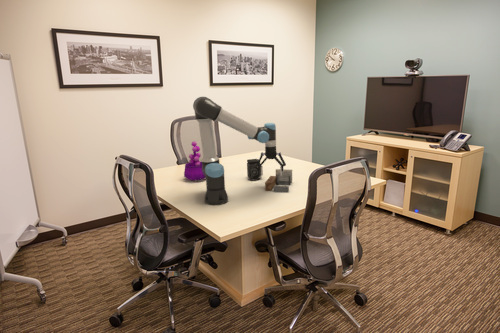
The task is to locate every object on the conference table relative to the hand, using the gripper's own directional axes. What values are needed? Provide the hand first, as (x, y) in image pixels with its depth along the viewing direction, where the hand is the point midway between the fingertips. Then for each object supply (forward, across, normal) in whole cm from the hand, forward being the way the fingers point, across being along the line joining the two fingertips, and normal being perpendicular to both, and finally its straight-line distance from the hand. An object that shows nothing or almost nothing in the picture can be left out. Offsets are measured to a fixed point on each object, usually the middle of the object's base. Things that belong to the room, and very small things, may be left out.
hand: (271, 175), depth 231 cm
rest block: (+9, +8, -8) cm, 14 cm away
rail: (+9, -1, 0) cm, 9 cm away
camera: (+9, -16, +17) cm, 25 cm away
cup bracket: (+9, +8, +7) cm, 14 cm away
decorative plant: (+8, -60, +11) cm, 62 cm away
